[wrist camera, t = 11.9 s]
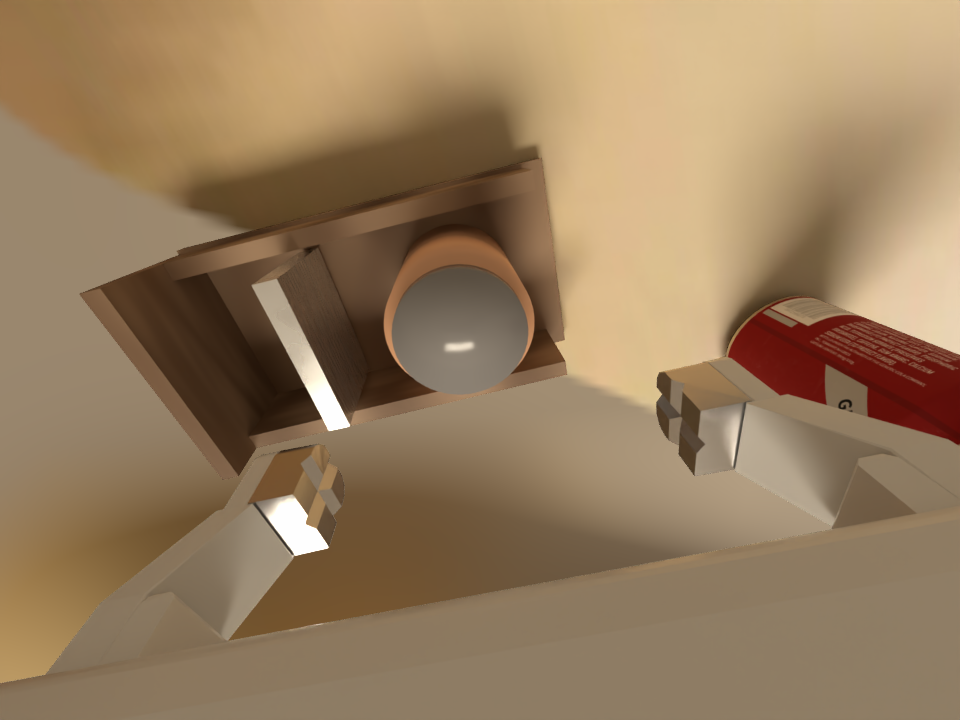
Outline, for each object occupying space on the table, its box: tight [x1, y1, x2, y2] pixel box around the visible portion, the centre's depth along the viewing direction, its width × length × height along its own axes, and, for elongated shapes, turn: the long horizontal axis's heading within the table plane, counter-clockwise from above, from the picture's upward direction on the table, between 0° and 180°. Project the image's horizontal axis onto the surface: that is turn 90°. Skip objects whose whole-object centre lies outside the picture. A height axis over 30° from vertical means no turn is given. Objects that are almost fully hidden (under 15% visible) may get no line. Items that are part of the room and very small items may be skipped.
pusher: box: [251, 247, 369, 431], centre depth 19 cm, size 3×7×6 cm, turn 13°
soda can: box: [726, 296, 960, 446], centre depth 20 cm, size 7×7×12 cm
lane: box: [80, 158, 567, 480], centre depth 19 cm, size 18×10×7 cm, turn 103°
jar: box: [384, 224, 534, 395], centre depth 18 cm, size 6×6×7 cm
